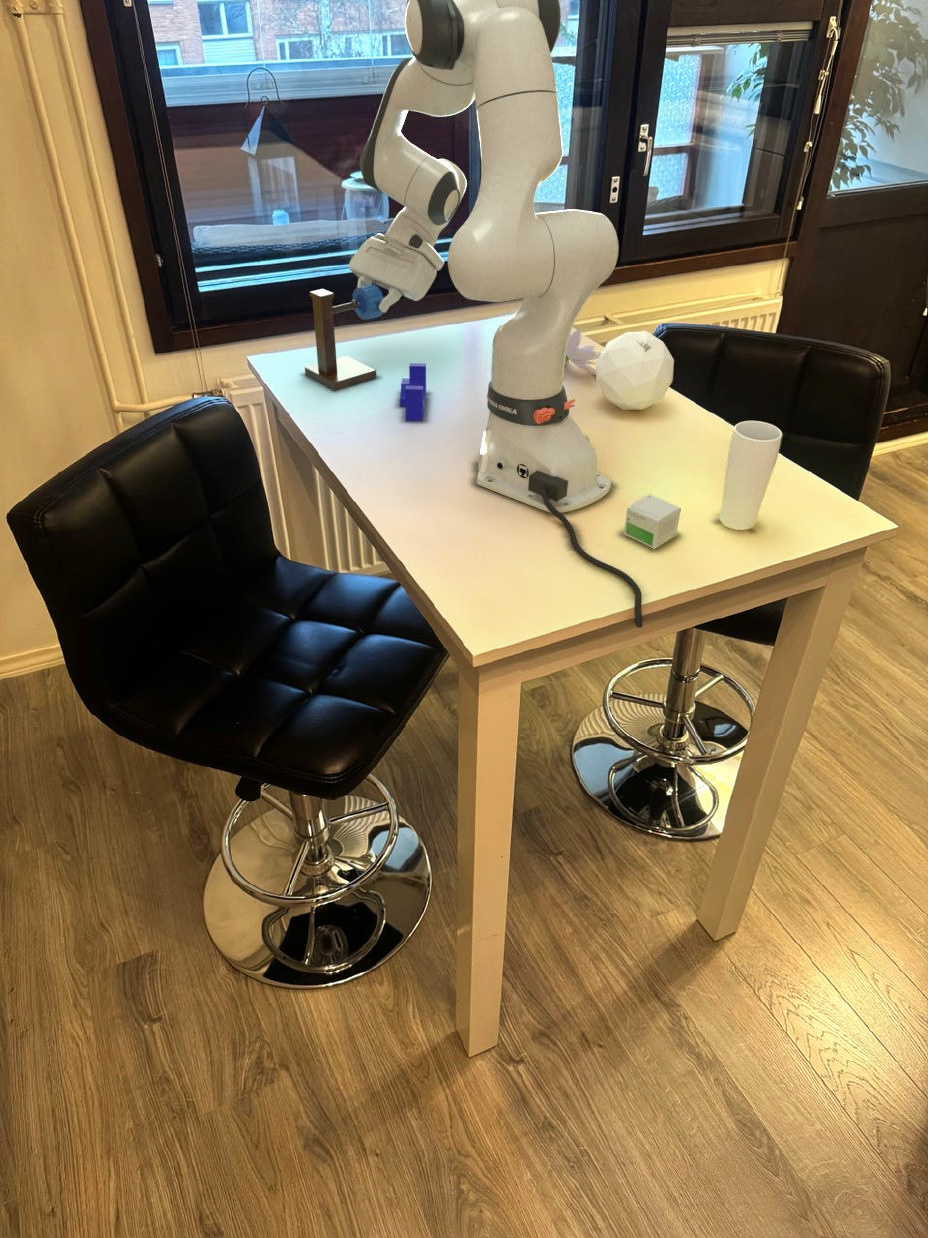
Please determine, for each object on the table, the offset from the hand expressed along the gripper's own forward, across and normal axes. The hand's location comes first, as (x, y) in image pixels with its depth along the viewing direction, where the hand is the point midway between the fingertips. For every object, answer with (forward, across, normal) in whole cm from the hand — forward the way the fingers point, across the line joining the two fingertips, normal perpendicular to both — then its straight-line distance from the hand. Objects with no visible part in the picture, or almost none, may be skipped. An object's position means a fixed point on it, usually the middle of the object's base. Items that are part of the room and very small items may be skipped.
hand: (368, 305), depth 174 cm
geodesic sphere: (-10, +45, +28) cm, 54 cm away
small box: (+13, +77, +4) cm, 78 cm away
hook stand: (+14, 0, +3) cm, 15 cm away
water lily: (-12, +28, +30) cm, 43 cm away
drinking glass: (+4, +83, +13) cm, 84 cm away
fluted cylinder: (+2, 0, +2) cm, 2 cm away
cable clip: (+13, +20, +5) cm, 24 cm away
